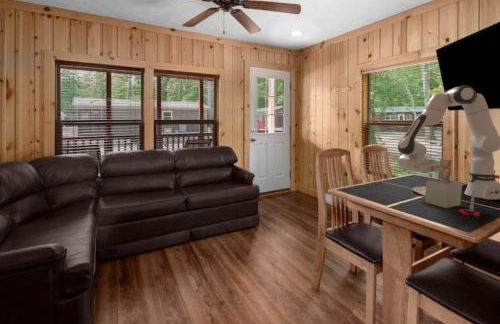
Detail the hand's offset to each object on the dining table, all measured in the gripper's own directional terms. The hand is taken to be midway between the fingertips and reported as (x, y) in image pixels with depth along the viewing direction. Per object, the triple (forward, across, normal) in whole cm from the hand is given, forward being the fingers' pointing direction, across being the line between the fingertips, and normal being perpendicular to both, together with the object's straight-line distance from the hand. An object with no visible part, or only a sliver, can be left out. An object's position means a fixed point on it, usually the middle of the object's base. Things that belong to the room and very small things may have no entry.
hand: (446, 169), depth 155 cm
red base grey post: (+16, -3, +20) cm, 26 cm away
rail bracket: (-1, 0, +8) cm, 8 cm away
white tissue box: (-1, 0, +20) cm, 20 cm away
